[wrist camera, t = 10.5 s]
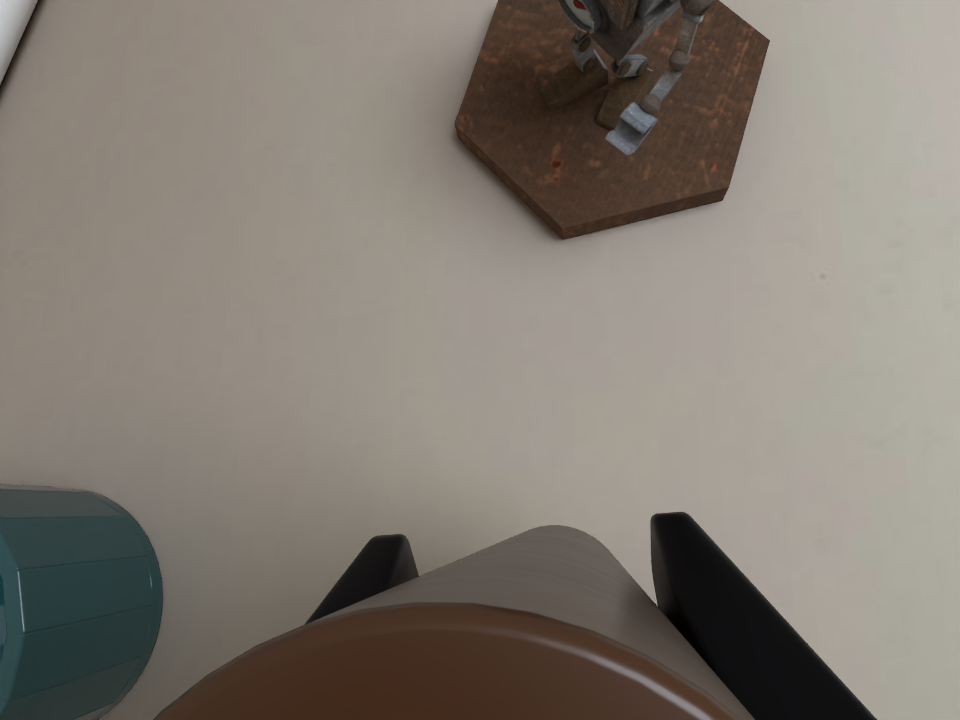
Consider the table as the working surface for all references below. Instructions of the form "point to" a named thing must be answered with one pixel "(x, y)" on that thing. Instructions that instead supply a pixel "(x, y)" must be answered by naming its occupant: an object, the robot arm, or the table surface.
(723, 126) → the robot figurine
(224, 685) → the dowel
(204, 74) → the table surface
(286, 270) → the table surface
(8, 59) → the marker
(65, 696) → the cup
